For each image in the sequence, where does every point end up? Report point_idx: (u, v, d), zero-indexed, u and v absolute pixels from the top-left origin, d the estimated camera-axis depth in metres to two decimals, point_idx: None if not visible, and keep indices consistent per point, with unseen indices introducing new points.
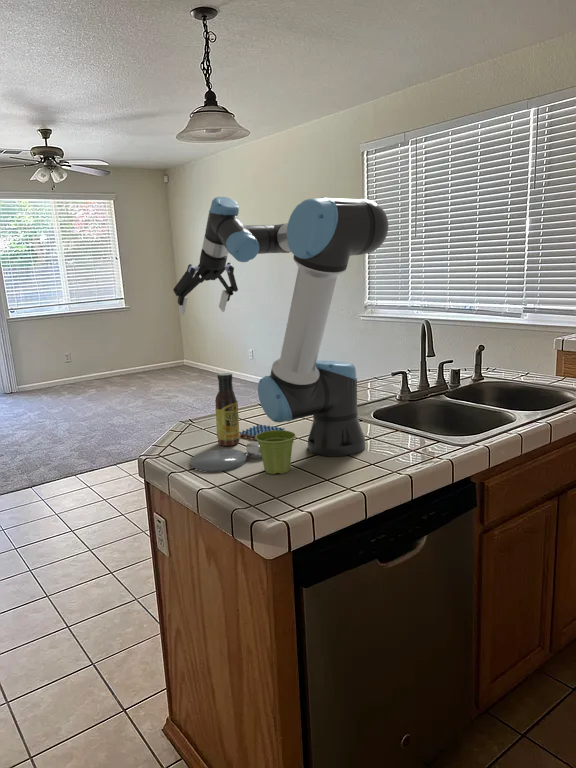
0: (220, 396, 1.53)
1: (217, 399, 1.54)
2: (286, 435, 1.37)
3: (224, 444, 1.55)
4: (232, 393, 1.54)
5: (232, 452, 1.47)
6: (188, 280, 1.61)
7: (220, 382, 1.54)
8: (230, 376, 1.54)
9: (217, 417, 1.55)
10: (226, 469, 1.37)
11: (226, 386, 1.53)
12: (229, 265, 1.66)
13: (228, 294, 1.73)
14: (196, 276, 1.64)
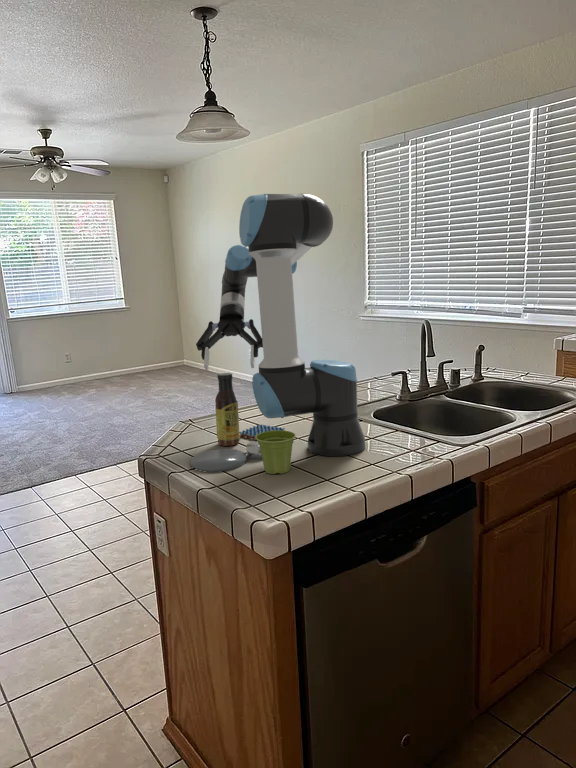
0: (220, 396, 1.53)
1: (217, 399, 1.54)
2: (286, 435, 1.37)
3: (224, 444, 1.55)
4: (232, 393, 1.54)
5: (232, 452, 1.47)
6: (207, 331, 1.70)
7: (220, 382, 1.54)
8: (230, 376, 1.54)
9: (217, 417, 1.55)
10: (226, 469, 1.37)
11: (226, 386, 1.53)
12: None
13: (253, 344, 1.66)
14: None
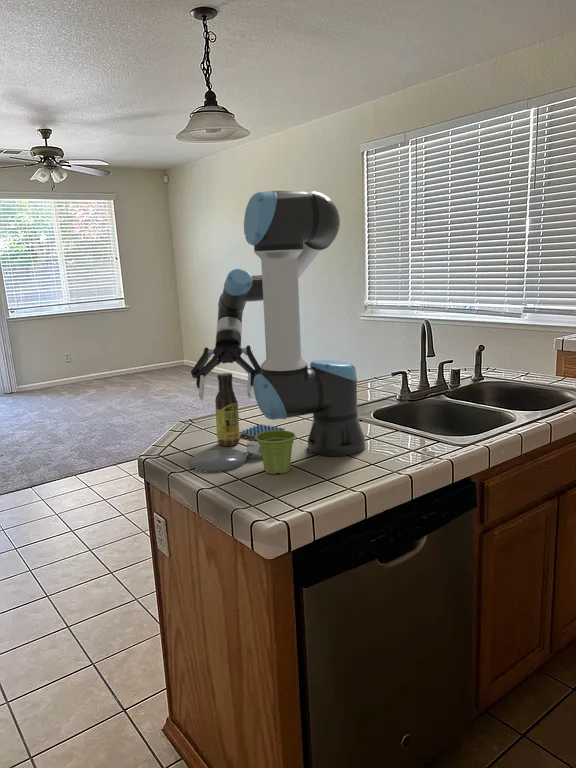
0: (220, 396, 1.53)
1: (217, 399, 1.54)
2: (286, 435, 1.37)
3: (224, 444, 1.55)
4: (232, 393, 1.54)
5: (232, 452, 1.47)
6: (202, 358, 1.64)
7: (220, 382, 1.54)
8: (230, 376, 1.54)
9: (217, 417, 1.55)
10: (226, 469, 1.37)
11: (226, 386, 1.53)
12: None
13: (250, 373, 1.60)
14: None
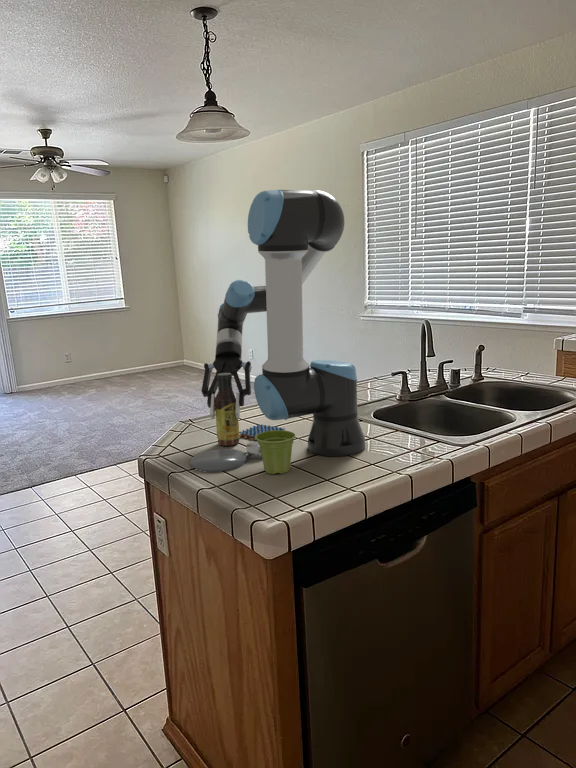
0: (220, 396, 1.53)
1: (217, 399, 1.54)
2: (286, 435, 1.37)
3: (224, 444, 1.55)
4: (232, 393, 1.54)
5: (232, 452, 1.47)
6: (206, 374, 1.59)
7: (219, 382, 1.53)
8: (229, 376, 1.53)
9: (217, 417, 1.55)
10: (226, 469, 1.37)
11: (225, 386, 1.53)
12: None
13: None
14: None
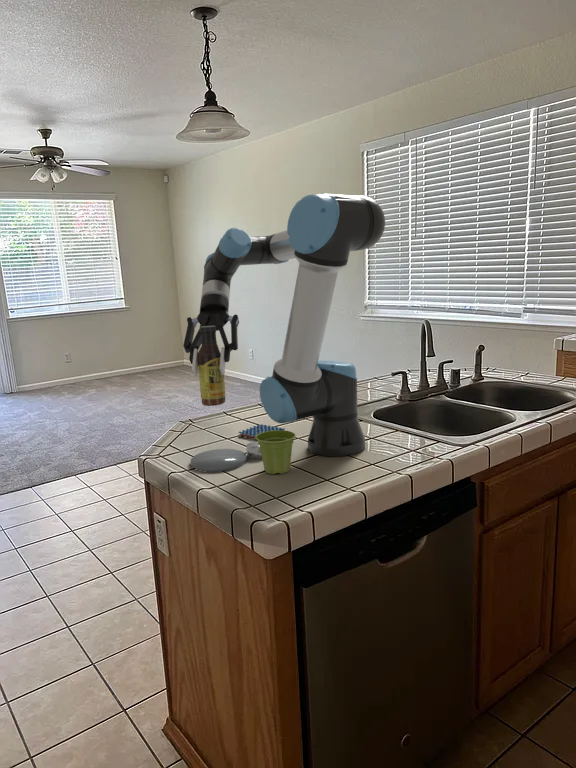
0: (203, 350, 1.40)
1: (199, 354, 1.40)
2: (286, 435, 1.37)
3: (208, 404, 1.41)
4: (216, 347, 1.40)
5: (232, 452, 1.47)
6: (189, 329, 1.45)
7: (202, 335, 1.40)
8: (213, 328, 1.39)
9: (200, 374, 1.41)
10: (226, 469, 1.37)
11: (208, 339, 1.39)
12: None
13: None
14: None
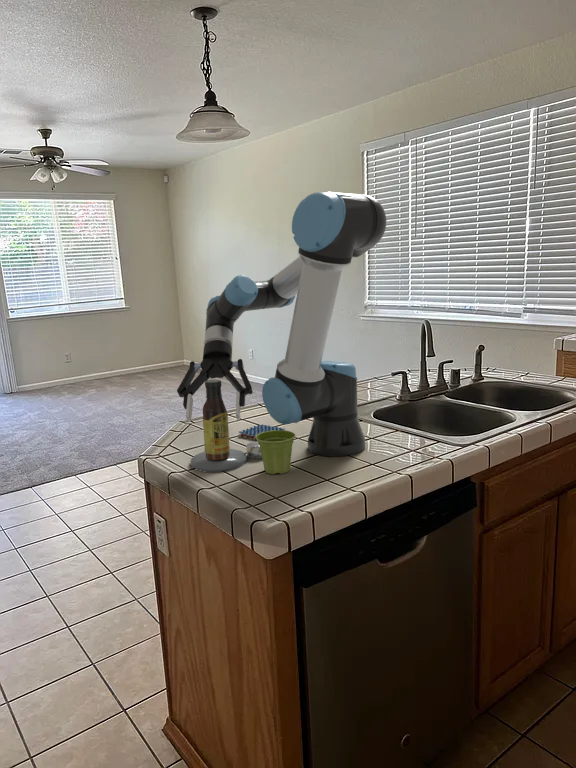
0: (208, 405, 1.39)
1: (204, 409, 1.39)
2: (286, 435, 1.37)
3: (212, 458, 1.40)
4: (221, 402, 1.39)
5: (232, 452, 1.47)
6: (188, 373, 1.44)
7: (208, 390, 1.39)
8: (219, 383, 1.39)
9: (204, 429, 1.40)
10: (226, 469, 1.37)
11: (214, 394, 1.38)
12: None
13: (239, 391, 1.40)
14: None
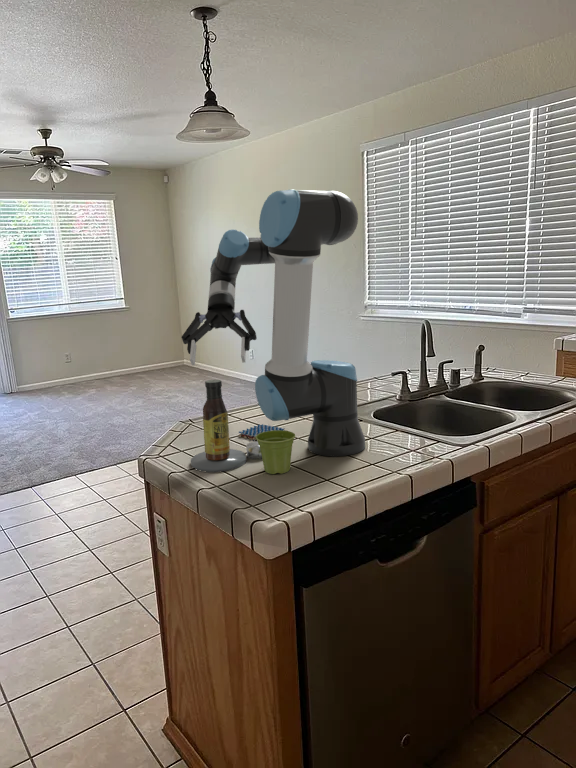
0: (208, 405, 1.38)
1: (205, 409, 1.39)
2: (286, 435, 1.37)
3: (212, 459, 1.40)
4: (221, 402, 1.39)
5: (232, 452, 1.47)
6: (193, 323, 1.55)
7: (208, 390, 1.38)
8: (219, 383, 1.39)
9: (205, 429, 1.40)
10: (226, 469, 1.37)
11: (214, 394, 1.38)
12: None
13: (244, 337, 1.51)
14: None
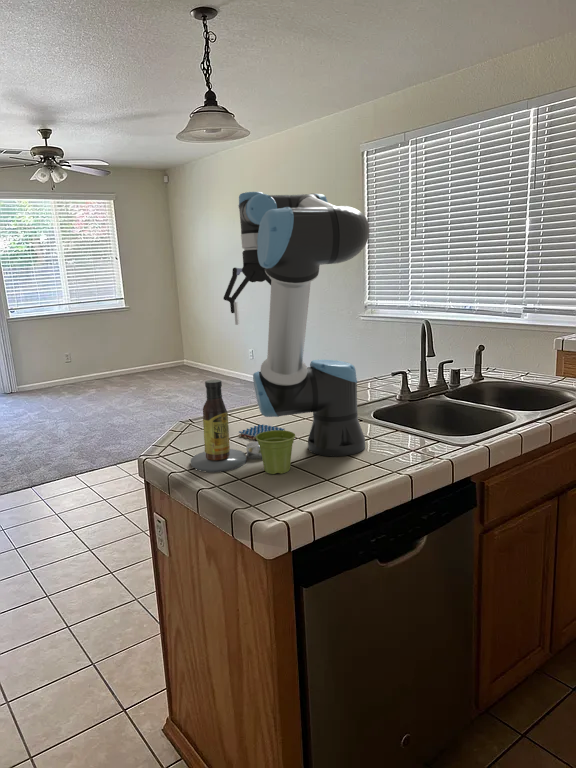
0: (208, 405, 1.38)
1: (205, 409, 1.39)
2: (286, 435, 1.37)
3: (212, 459, 1.40)
4: (221, 402, 1.39)
5: (232, 452, 1.47)
6: (232, 281, 1.63)
7: (208, 390, 1.38)
8: (219, 383, 1.38)
9: (205, 429, 1.40)
10: (226, 469, 1.37)
11: (214, 394, 1.38)
12: None
13: None
14: None
